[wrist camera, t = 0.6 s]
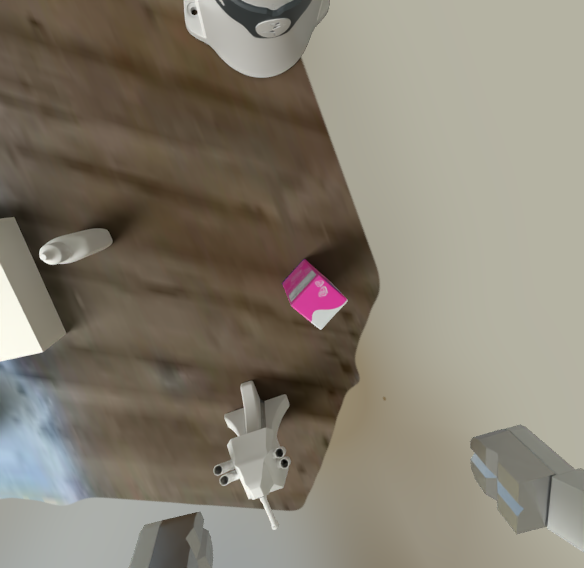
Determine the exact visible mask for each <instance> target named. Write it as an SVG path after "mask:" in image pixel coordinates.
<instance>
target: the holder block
mask: <svg viewBox="0 0 584 568" xmlns="http://www.w3.org/2000/svg"><path fill="white" fill-rule="evenodd" d="M65 334H67V333H66V331H65V329H64V327H63V325H62V322H61V320H60V318H59V316H58V313H57V311H56V309H55V307H54V304H53V302H52V300H51V298H50V296H49V293H48V291H47V289H46V287H45V284H44V282H43V280H42V278H41V275H40V273H39V271H38V269H37V267H36V264H35V262H34V260H33V258H32V255H31V253H30V251H29V249H28V246H27V244H26V242H25V240H24V238H23V235H22V233H21V231H20V229H19V226H18V224H17V222H16V220H15V217H9V218H1V219H0V361H5V360H9V359H14V358H18V357H23V356H28V355H32V354H37V353H41V352H44V351H45V350H46V349H48V348H49V347H50V346H51V345H53V344H54V343H55V342H56V341H58V340H59V339H60V338H62V337H63V336H64V335H65Z"/></svg>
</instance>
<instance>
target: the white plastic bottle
mask: <svg viewBox="0 0 584 568" xmlns="http://www.w3.org/2000/svg"><path fill="white" fill-rule="evenodd" d="M112 242H113V241H112V238H111V236H110V233H109V231H108V230H106V229H102V228H93V229H87V230H83V231H79V232H75V233H71V234H67V235H63V236H60V237H57V238H54V239H52V240H50V241H49V242H47V243H46V244H45V245H44V246H42V247H41V249H40V251H39V255H40V259H41V260H43V261H44V262H45V263H47V264H50V265H55V264H66V263H72V262H75V261H78V260H80V259H83V258H85V257H88V256H90V255H92V254H95V253H97V252H99V251H102V250H104V249H106V248H107V247H109V246H110V245H111V244H112Z"/></svg>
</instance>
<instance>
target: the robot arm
mask: <svg viewBox="0 0 584 568" xmlns="http://www.w3.org/2000/svg"><path fill="white" fill-rule="evenodd" d="M329 5H330V0H184V13H185V23H186V28H187V30H188V31H189V33H190V34H191V35H193V36H194V37H196V38H197V39H199V40H201V41H203V42H205V43H207V44H209V45H210V46H211V47H212V48H213V49H214V50H215V51H216V53H217V54H218V55H219V56H220V57H221V58H222V59H223V60H224V61H225V62H226V63H227V64H228V65H229V66H231V67H232V68H233V69H235V70H237V71H238V72H240V73H243V74H245V75H248V76H252V77H260V78H264V77H272V76H276V75H278V74H281V73H283V72H285V71H286V70H288V69H289V68H291V67H292V66H293V65H294V64H295V63H296V62H297V61H298V60H299V59H300V57H301V56H302V54H303V53H304V51H305V49H306V47H307V45H308V42H309V39H310V37H311V34H312V32H313V30H314V28H315V27H316V26H317V25H318V24H319V23H320V21H321V20H322V19H323V18H324V17H325V15H326V14H327V12H328V9H329ZM193 10H196V11H197V12H198V13H197V14H196V15H193V14H192V13H191V12H192V11H193ZM470 445H471V449H472V450H473V451H474V452H475V453H474V455H473V456H472V458H471V469H472V472H473V474H474V477H475V479H476V481H477V483H478V484H479V486H480V487H481V489H482V490H483V491H484V493H485V494H486V495H488V496H490V497H491V498H493V499H495V500H497V509H498V511H499V512H500V514H501V515H502V516H503V517H504V519H505V520H506V521H507V522H508V524H509V525H510V526H511V528H512V529H513V530H514V531H515V533H516V534H520V533H524V532H527V531H531V530H535V529H539V528H543V527H547V529H549V530H550V531H552V532H553V533H555V534H556V535H558V536H559V537H561V538H563V539H564V540H566V541H567V542H569V543H570V544H572V545H573V546H575V547H576V548H578V549H579V550H581V551H582V552H584V470H583V469H581V468H580V469H574V468H573V467H572V466H571V465H569V464H568V463H567V462H566V461H565V460H564V459H562V458H561V457H560V456H559V455H558V454H557V453H555V452H554V451H553V450H552V449H551V448H550V447H548V446H547V445H546V444H545V443H544V442H543V441H542V440H540V439H539V438H538V437H537V436H536V435H535V434H533V433H532V432H531V431H530V430H529V429H527V428H526V427H525V426H522V425H517V426H513V427H510V428H506V429H501V430H497V431H494V432H490V433H487V434H483V435H480V436H476V437H473V438H472V439H471V444H470ZM203 523H204V519H203V516H202V514H201V512H196V513H192V514H187V515H183V516H179V517H175V518H170V519H167V520H162V521H159V522H155V523H151V524H147V525H144V527H143V529H142V530H141V532H140V534H139V537H138V541H137V544H136V547H135V550H134V553H133V556H132V559H131V563H130V566H129V568H212V565H213V548H212V541H211V536H210V534H209V531H208V530H206V529H204V528H203Z"/></svg>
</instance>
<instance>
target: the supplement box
mask: <svg viewBox="0 0 584 568" xmlns="http://www.w3.org/2000/svg"><path fill="white" fill-rule="evenodd" d="M282 284H283V286H284V289H285V291H286V294H287V296H288V299H289V301H290V304H291V306H292V307H293V308H294V309H295V310H296V311H298V312H299V313H300V314H301V315H302V316H304V317H305V318H306V319H307V320H309V321H310V322H311V323H312V324H314V325H315V326H316V327H317V328H319V329H320V330H322V328H323V327H324V326H325V325H326V324H327V323H328V322H329V321H330V320H331V319H332V317H333V316H334V315H335V314H336V313H337V312H338V311H339V310H340V309H341V308H342V307H343V306H344V305H345V304H346V302H347V301H348V300H347V298H346V297H345V296H344V295H343V294H342V293H341V292H340V291H339V290H338V289H337V288H336V287H335V286H334V285H333V284H332V283H331V282H330V281H329V280H328V279H327V278H326V277H325V276H324V275H323V274H321V273H320V272H319V271H318V270H317V269H316V268H314V267H313V266H312V265H311V264H310V263H309V262H308V261H307V260H306V259H303V260H302V262H301V263H300V264H299V265H298V266H297V267H296V268H295V269H294V270H293V271H292V272H291V274H290V275H289V276H288V277H287V278H286V279H285V280H284V281H283V283H282Z"/></svg>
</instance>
